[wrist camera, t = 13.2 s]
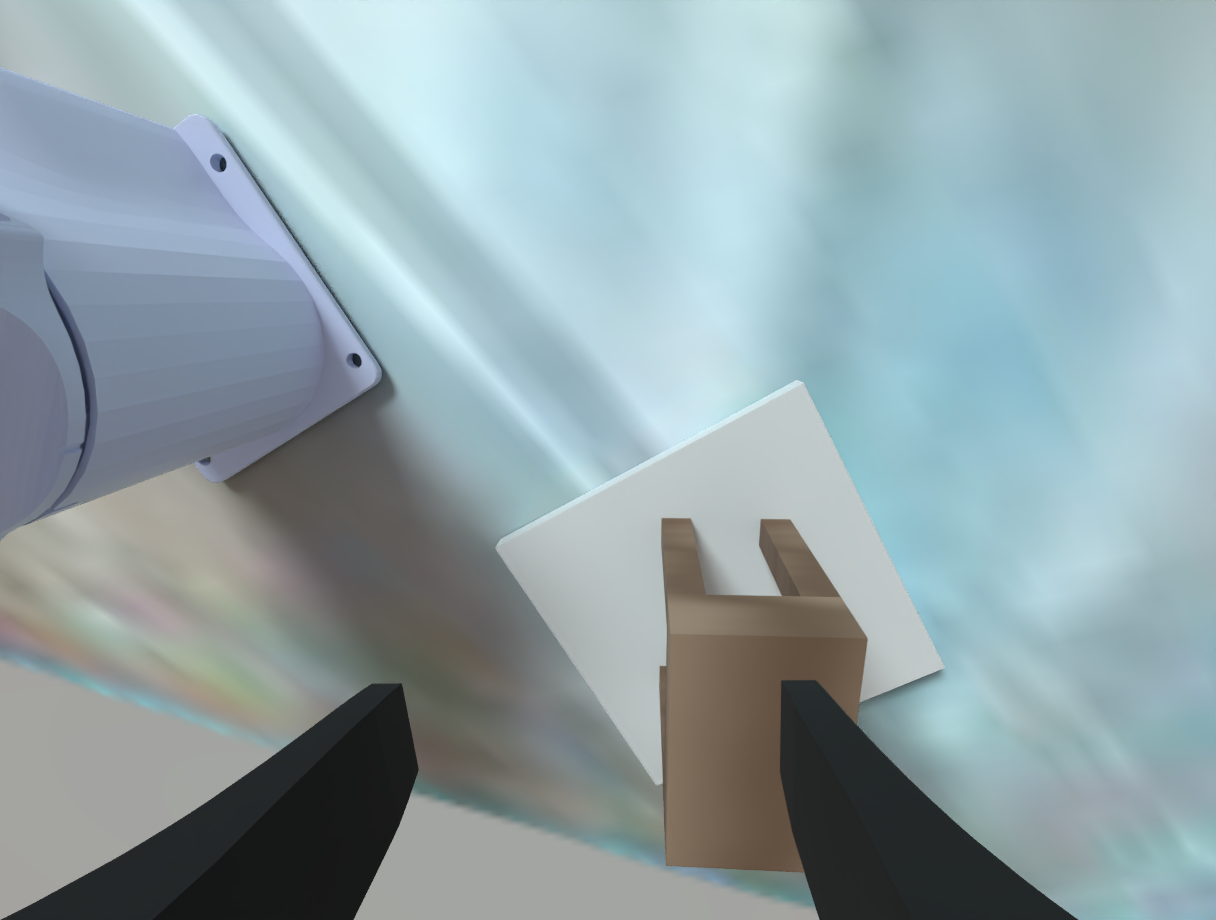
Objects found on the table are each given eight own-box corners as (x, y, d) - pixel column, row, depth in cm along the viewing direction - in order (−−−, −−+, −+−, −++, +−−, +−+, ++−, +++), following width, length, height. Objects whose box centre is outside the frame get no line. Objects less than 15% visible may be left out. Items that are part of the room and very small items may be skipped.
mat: (500, 538, 21) (495, 548, 20) (796, 379, 19) (803, 383, 18) (656, 769, 24) (656, 785, 23) (934, 654, 21) (945, 667, 21)
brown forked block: (659, 688, 22) (666, 865, 15) (661, 518, 20) (670, 633, 13) (775, 691, 21) (836, 873, 15) (790, 519, 19) (867, 638, 13)
